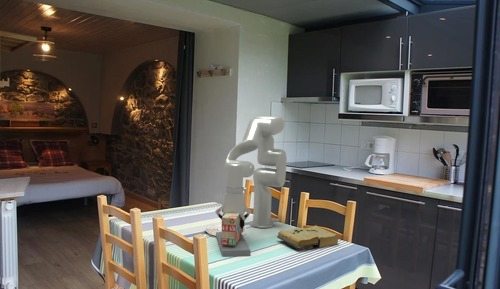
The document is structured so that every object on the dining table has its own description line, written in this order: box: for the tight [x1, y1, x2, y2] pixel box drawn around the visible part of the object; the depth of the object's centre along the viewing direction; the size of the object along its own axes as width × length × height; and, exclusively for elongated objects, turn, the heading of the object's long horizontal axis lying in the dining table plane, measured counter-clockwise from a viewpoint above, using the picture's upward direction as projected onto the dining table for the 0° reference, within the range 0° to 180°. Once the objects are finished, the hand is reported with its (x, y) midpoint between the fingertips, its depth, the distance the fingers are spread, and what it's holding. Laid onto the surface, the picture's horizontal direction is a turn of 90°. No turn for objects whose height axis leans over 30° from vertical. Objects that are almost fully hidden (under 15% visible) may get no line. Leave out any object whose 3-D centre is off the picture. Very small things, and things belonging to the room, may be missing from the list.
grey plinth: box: [215, 231, 252, 258], centre depth 174 cm, size 12×26×2 cm, turn 11°
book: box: [276, 224, 339, 251], centre depth 182 cm, size 25×17×6 cm
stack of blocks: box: [221, 213, 244, 246], centre depth 174 cm, size 21×6×12 cm, turn 171°
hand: (232, 228), depth 174 cm, fingers closed on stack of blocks, 7 cm apart
